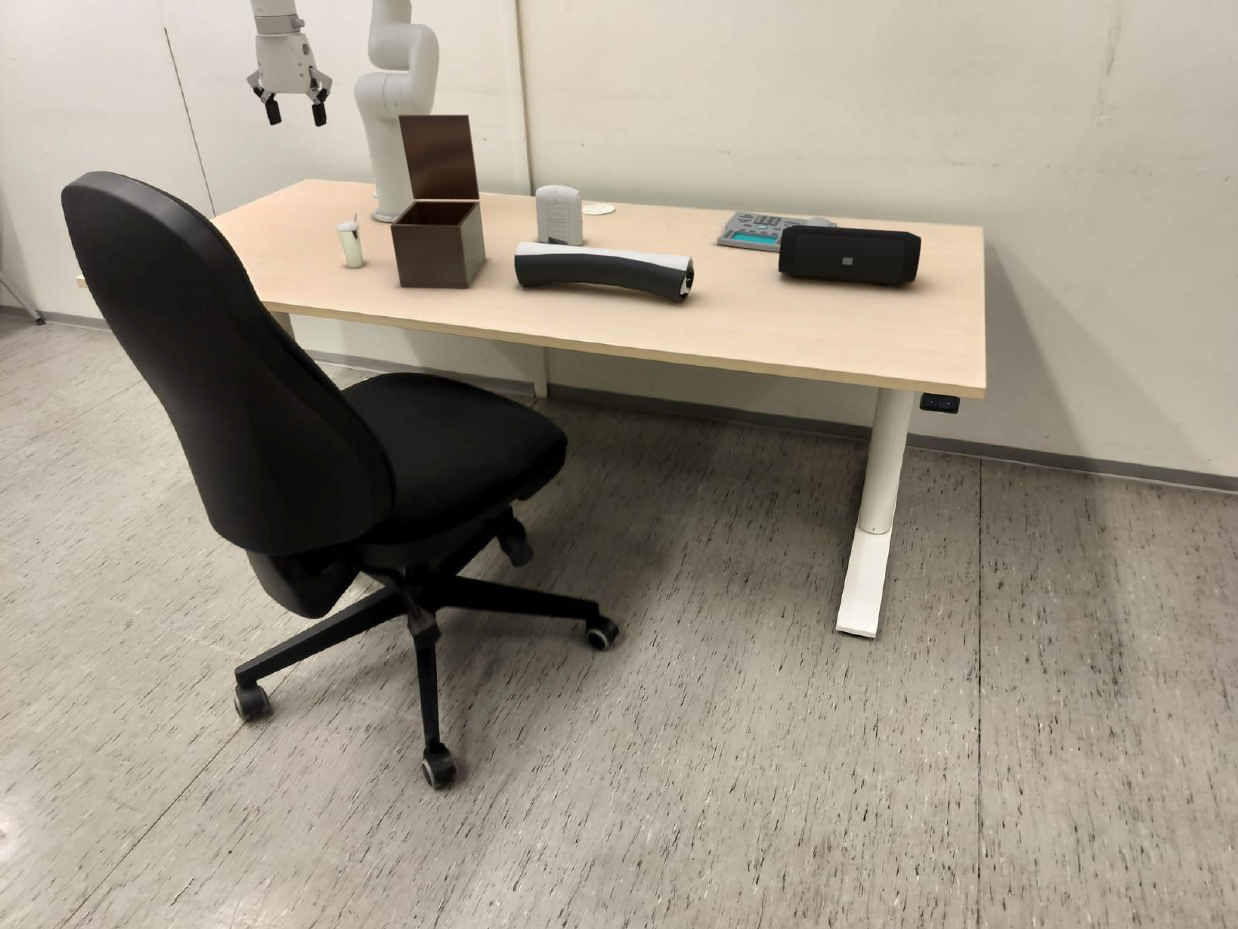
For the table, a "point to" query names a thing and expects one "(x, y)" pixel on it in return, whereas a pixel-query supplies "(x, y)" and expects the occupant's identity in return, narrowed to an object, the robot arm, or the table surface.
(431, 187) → the lid
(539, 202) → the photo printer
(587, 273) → the curved black white bar
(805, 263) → the portable speaker
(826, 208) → the table surface
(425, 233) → the chest
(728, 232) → the office telephone
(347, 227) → the milkshake
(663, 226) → the table surface
